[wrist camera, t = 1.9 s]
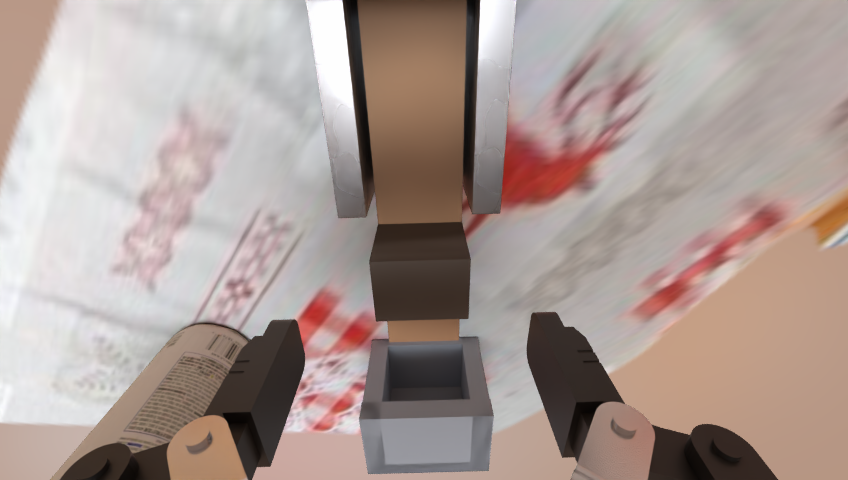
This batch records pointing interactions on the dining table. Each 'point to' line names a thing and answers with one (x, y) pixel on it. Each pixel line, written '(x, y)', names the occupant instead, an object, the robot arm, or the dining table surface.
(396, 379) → the socket
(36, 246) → the dining table surface
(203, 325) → the spray can
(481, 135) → the channel
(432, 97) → the walnut bar
